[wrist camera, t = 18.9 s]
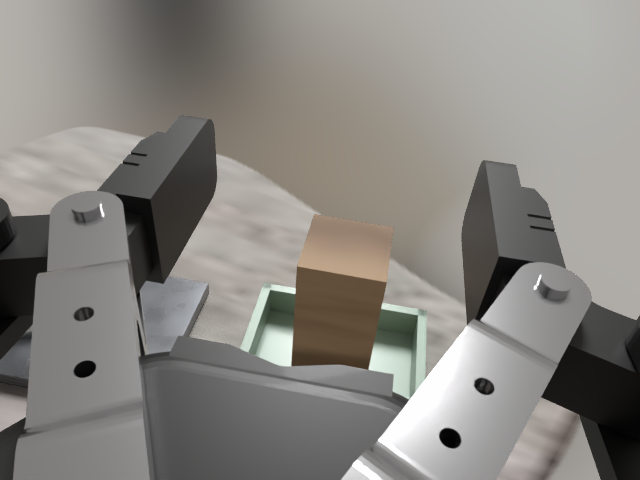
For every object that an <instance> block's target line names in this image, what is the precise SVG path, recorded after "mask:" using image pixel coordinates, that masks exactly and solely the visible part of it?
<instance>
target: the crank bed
mask: <svg viewBox="0 0 640 480" xmlns="http://www.w3.org/2000/svg"><path fill="white" fill-rule="evenodd" d="M140 293H141V298H142V305H143V312H144V320H145V328H146V335H147V343H148V351H149V354H152V353H159V352H168V351H171V349H172V347H173V345H174V343H175V341H176V339H177V337H178V335H179V336H185V337H188V336H189V334H190V332H191V330H192V328H193V326H194V323H195V321H196V319H197V317H198V315H199V313H200V311H201V308H202V306H203V304H204V302H205V300H206V298H207V296H208V294H209V285H208V283H204V282H198V281H192V280H186V279H181V278H175V277H169V276H168V277H167V279H166V281H165V283H164V284H161V283H156V282H150V281H145V283H144V285H143V286H142V288H141V289H140ZM32 328H33V325H32V326H31V327H30V328H29V329H28V330H27V331H26V332H25V333H24V335H23V336H22V337H21V338H20V339H19V340H18V341H17V342H16V343H15V344H14V346H13V347H12V348H11V349H10V350H9V351H8V352H7V353H6V354H5V355H4V357H3V358H2V359H1V360H0V382H3V383H8V384H13V385H18V386H23V387H28V382H29V369H30V355H31V341H32Z"/></svg>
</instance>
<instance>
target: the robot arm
mask: <svg viewBox="0 0 640 480" xmlns="http://www.w3.org/2000/svg"><path fill="white" fill-rule="evenodd" d="M216 182H217V166H216V150H215V132H214V124H213V122H212V120H210V119H204V118H197V117H190V116H184V115H181V116H179V117H178V119H177V120H176V121H175V122H174V123H173V124H172V126H171V127H170V128H169V129H168V131H167V132H166V133H163V132H157V133H155V134H153V135H151V136H149V137H147V138H145V139H143V140H141V141H140V142H139V144H138V145H137V146H136V147H135V148H134V149H133V150H132V151H131V154H129V155H128V156H127V157H126V158H125V159H124V161H123V164H120V165H119V166H118V167H117V169H116V170H115V171H114V172H113V173H112V174H111V175H110V176H109V178H108V179H107V180H106V181H105V182H104V183H103V184H102V186H101V187H100V188H99V189H98V190H97V191H86V192H80V193H76V194H73V195H70V196H68V197H66V198H64V199H62V200H61V201H59V202H58V203H57V204H56V205H55V206H54V207H53V208H52V210H51V213H50V215H35V216H15V217H12V215H11V212H10V210H9V207H8V204H7V203H6V202H5V201H4V200H3V199H1V198H0V360H1V359H2V358H3V357H4V355H5V354H6V353H7V352H8V351H9V350H10V349H11V348H12V347H13V346H14V344H15V343H16V342H17V341H18V340H19V339H20V338H21V337H22V336H23V335H24V333H25V332H26V331H27V330H28V329H29V328H30V327H31V326H32V325H33V328H32V341H31V355H30V369H29V382H28V396H27V410H26V417H25V418H23V419H22V420H20V421H18V422H17V423H15V424H13V425H11V426H10V427H8V428H6V429H5V430H3V431H1V432H0V480H496V479H497V478H498V476H499V474H500V472H501V470H502V468H503V466H504V465H505V463H506V461H507V459H508V457H509V455H510V453H511V452H512V450H513V448H514V446H515V444H516V442H517V441H518V439H519V437H520V435H521V433H522V431H523V429H524V428H525V426H526V424H527V422H528V420H529V418H530V416H531V415H532V413H533V411H534V409H535V407H536V405H537V403H538V402H539V400H540V398H541V397H542V398H544V399H546V400H549V401H551V402H553V403H555V404H557V405H559V406H562V407H564V408H566V409H568V410H570V411H573V412H575V413H577V414H579V415H580V419H581V422H582V425H583V428H584V431H585V434H586V437H587V440H588V443H589V446H590V449H591V452H592V455H593V458H594V461H595V463H596V467H597V469H598V473H599V476H600V479H601V480H640V316H639V317H638V319H637V320H634V319H631V318H628V317H626V316H623V315H620V314H618V313H615V312H613V311H610V310H608V309H605V308H603V307H601V306H599V305H597V304H595V303H593V302H592V301H591V299H592V297H591V292H590V290H589V288H588V287H587V285H586V284H585V283H584V282H583V280H581V279H580V278H579V277H578V276H577V275H575V274H574V273H572V272H571V271H569V270H567V269H566V267H565V264H564V260H563V256H562V253H561V249H560V246H559V243H558V239H557V235H556V232H554V230H555V228H554V225H553V221H552V220H551V214H550V211H549V208H548V204H547V202H546V201H545V200H544V199H543V198H542V197H541V196H540V194H539V193H538V192H537V191H536V190H535V189H531V188H525V187H521V185H520V180H519V176H518V172H517V168H516V165H513V164H505V163H499V162H493V161H485V160H484V161H482V163H481V165H480V167H479V171H478V174H477V177H476V180H475V183H474V186H473V190H472V193H471V196H470V199H469V203H468V206H467V209H466V212H465V216H464V221H463V227H462V252H463V268H464V284H465V299H466V315H467V326H466V328H465V329H464V330H463V332H462V333H461V334H460V336H459V337H458V338H457V339H456V341H455V342H454V343H453V345H452V346H451V347H450V348H449V350H448V351H447V352H446V354H445V355H444V356H443V357H442V359H441V360H440V361H439V363H438V364H437V365H436V367H435V368H434V369H433V370H432V372H431V373H430V374H429V376H428V377H427V378H426V379H425V381H424V382H423V383H422V385H421V386H420V387H419V388H418V390H417V391H416V392H415V394H414V395H413V396H412V398H411V399H410V400H409V399H407V398H405V397H404V396H402V395H400V394H397V393H395V392H393V379H394V374H389V373H383V372H378V371H372V370H367V369H361V368H356V367H350V366H345V365H312V366H279V365H276V364H274V363H271V362H269V361H267V360H264V359H262V358H260V357H257V356H255V355H253V354H250V353H248V352H246V351H243V350H241V349H239V348H236V347H234V346H232V345H229V344H223V343H218V342H212V341H207V340H201V339H196V338H190V337H185V336H179V335H178V337H177V339H176V341H175V343H174V345H173V347H172V349H171V351H168V352H159V353H152V354H149V351H148V343H147V335H146V328H145V320H144V312H143V305H142V298H141V293H140V289H141V288H142V286H143V285H144V283H145V281H150V282H156V283H161V284H164V283H165V281H166V279H167V277H168V275H169V274H170V272H171V270H172V268H173V267H174V265H175V263H176V261H177V260H178V258H179V256H180V254H181V253H182V251H183V249H184V247H185V246H186V244H187V242H188V240H189V238H190V237H191V235H192V233H193V231H194V230H195V228H196V226H197V224H198V223H199V221H200V219H201V217H202V216H203V214H204V212H205V210H206V209H207V207H208V205H209V203H210V201H211V200H212V198H213V195H214V192H215V188H216Z"/></svg>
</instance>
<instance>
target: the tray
mask: <svg viewBox="0 0 640 480" xmlns="http://www.w3.org/2000/svg"><path fill="white" fill-rule="evenodd" d="M295 293H296V288H291V287H285V286H280V285H274V284H268V283H264V285H263V287H262V290H261V293H260V296H259V298H258V301H257V304H256V307H255V309H254V312H253V315H252V318H251V320H250V323H249V326H248V329H247V332H246V334H245V337H244V340H243V343H242V345H241V348H240V349H241V350H243V351H246V352H248V353H250V354H253V355H255V356H257V357H260V358H262V359H264V360H267V361H269V362H271V363H274V364H276V365H279V366H291V361H292V344H293V327H294V310H295ZM426 312H427V311H426V310H420V309H414V308H408V307H402V306H397V305H391V304H385V303H382V307H381V312H380V317H379V321H378V326H377V331H376V336H375V341H374V346H373V350H372V355H371V360H370V365H369V370H372V371H378V372H383V373H389V374H394V379H393V392H395V393H397V394H400V395H402V396H404V397H405V398H407V399H409V400H410V399H411V398H412V396H413V395H414V394H415V392H416V391H417V390H418V388H419V387H420V386H421V385H422V383H423V382H424V381H425V365H426Z"/></svg>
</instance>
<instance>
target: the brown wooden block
mask: <svg viewBox="0 0 640 480" xmlns="http://www.w3.org/2000/svg"><path fill="white" fill-rule="evenodd" d="M392 236H393V227H387V226H381V225H375V224H369V223H363V222H357V221H352V220H345V219H340V218H334V217H328V216H322V215H316V214H314V216H313V219H312V222H311V226H310V229H309V232H308V235H307V238H306V241H305V244H304V247H303V250H302V253H301V256H300V259H299V262H298V265H297V276H296V293H295V310H294V327H293V344H292V361H291V366H312V365H345V366H350V367H356V368H361V369H367V370H369V365H370V360H371V355H372V350H373V346H374V341H375V336H376V331H377V326H378V321H379V317H380V312H381V307H382V302H383V297H384V293H385V288H386V283H387V276H388V268H389V260H390V252H391V244H392Z"/></svg>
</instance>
